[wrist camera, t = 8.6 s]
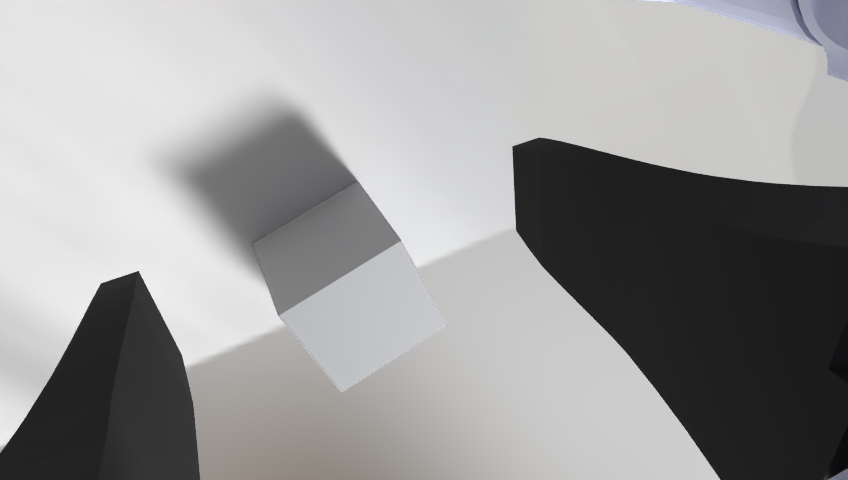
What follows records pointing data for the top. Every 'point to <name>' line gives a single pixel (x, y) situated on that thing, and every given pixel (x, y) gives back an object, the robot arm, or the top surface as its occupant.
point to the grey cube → (347, 286)
